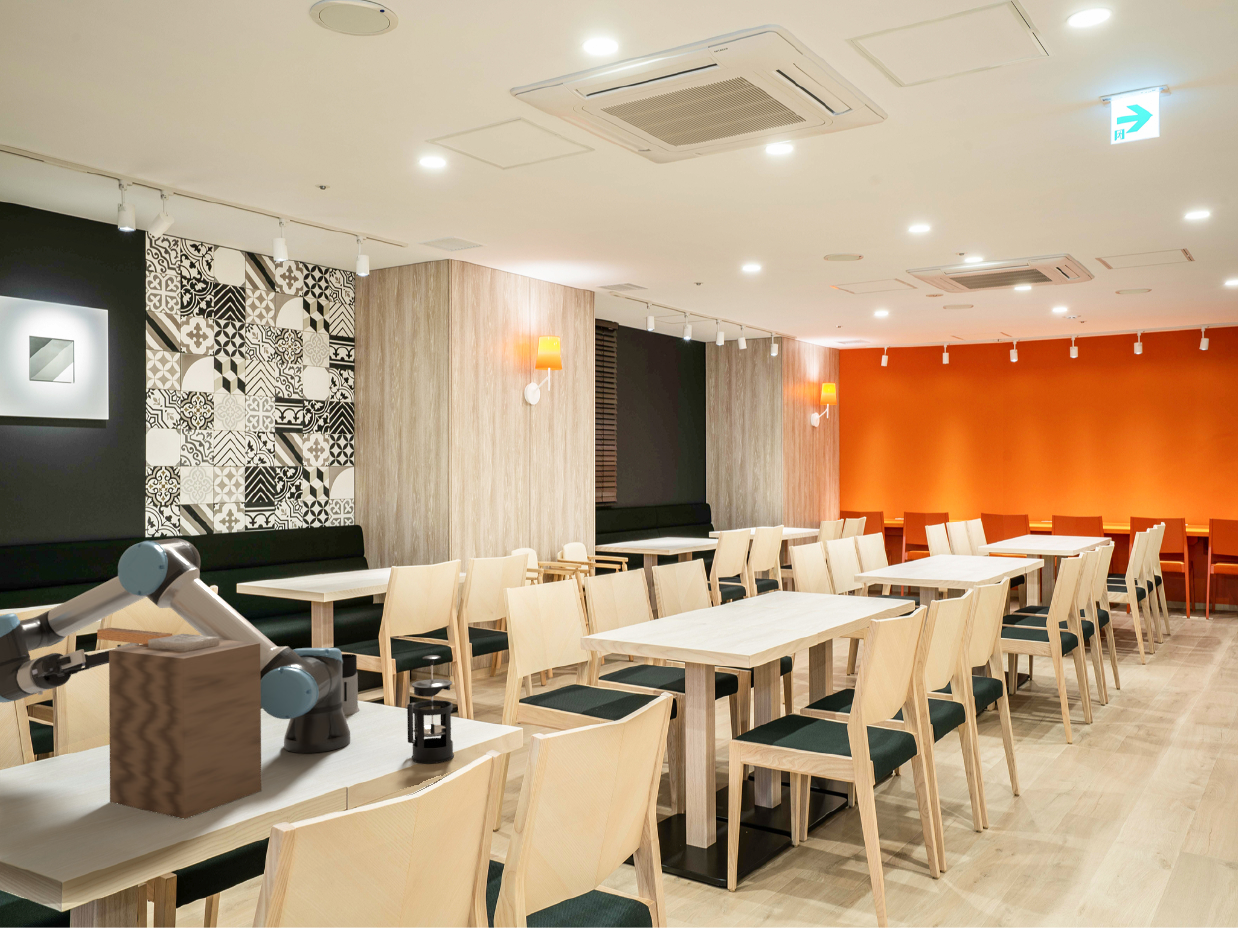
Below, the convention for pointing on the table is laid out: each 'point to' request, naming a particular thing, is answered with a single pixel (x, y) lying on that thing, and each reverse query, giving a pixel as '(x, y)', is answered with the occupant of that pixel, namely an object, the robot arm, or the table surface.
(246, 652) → the walnut stand
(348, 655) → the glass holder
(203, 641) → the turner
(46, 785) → the table surface
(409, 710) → the french press
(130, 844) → the table surface
